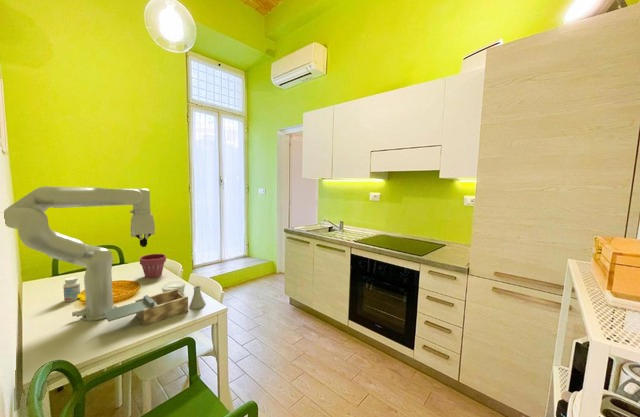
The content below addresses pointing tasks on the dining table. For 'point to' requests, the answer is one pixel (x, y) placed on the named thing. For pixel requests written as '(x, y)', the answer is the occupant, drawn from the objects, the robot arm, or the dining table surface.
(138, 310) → the lid
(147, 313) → the wooden box
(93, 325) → the dining table surface
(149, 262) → the plant pot
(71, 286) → the pill bottle
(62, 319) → the dining table surface
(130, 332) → the dining table surface
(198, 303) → the flask
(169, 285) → the ramekin
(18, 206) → the robot arm
